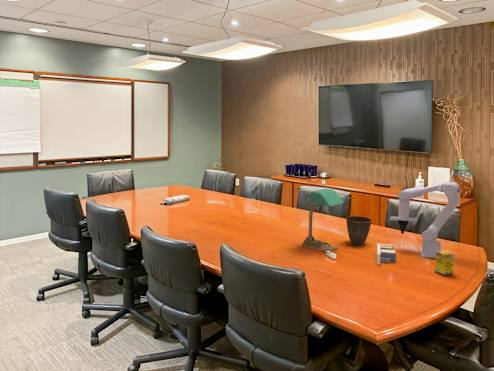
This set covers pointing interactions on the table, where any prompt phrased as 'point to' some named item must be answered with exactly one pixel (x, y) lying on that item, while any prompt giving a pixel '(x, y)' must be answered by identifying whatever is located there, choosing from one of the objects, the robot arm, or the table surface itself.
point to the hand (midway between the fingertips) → (402, 233)
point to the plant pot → (358, 229)
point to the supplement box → (444, 262)
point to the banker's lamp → (316, 197)
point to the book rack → (380, 259)
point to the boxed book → (388, 254)
